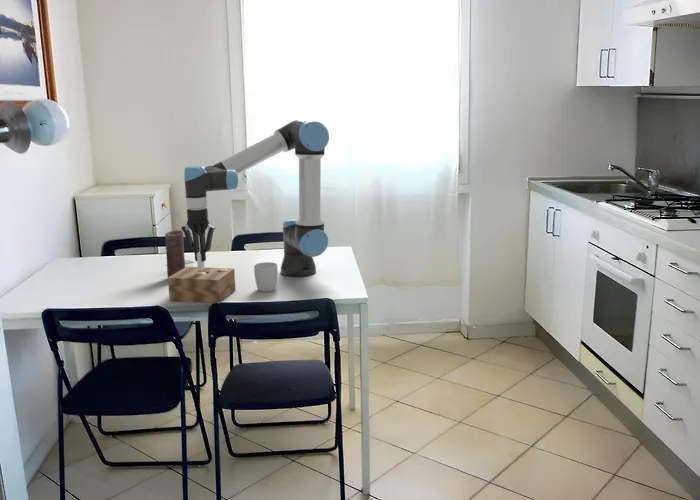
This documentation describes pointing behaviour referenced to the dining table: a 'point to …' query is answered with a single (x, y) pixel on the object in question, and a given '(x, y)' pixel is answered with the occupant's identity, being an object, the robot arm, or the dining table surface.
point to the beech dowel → (200, 273)
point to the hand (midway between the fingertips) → (201, 269)
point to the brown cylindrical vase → (174, 252)
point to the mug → (266, 276)
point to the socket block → (202, 285)
